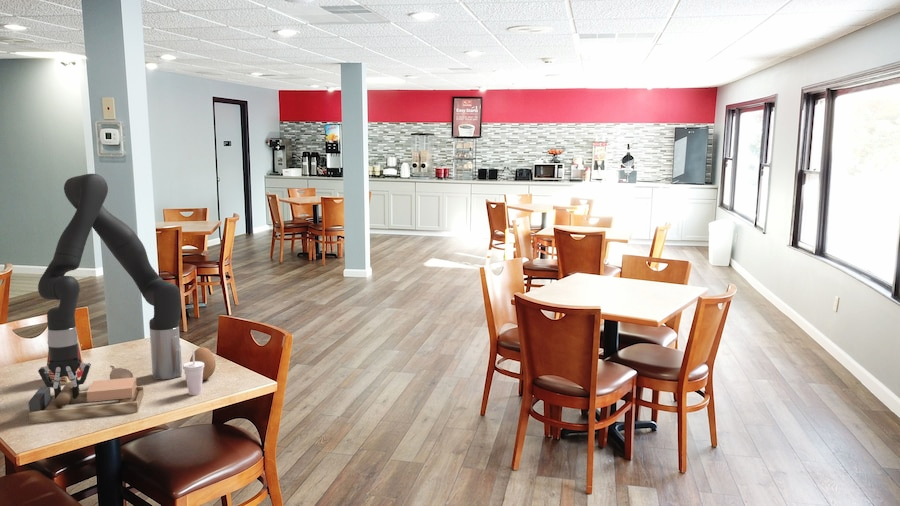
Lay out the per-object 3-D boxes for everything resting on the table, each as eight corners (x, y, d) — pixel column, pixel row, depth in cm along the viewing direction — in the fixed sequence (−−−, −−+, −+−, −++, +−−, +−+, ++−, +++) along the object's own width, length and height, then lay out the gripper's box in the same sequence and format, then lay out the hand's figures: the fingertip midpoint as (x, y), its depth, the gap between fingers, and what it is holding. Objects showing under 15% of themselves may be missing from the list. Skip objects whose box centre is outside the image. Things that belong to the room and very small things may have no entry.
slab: (136, 386, 206) (136, 377, 206) (132, 397, 197) (131, 388, 196) (93, 390, 202) (93, 381, 202) (87, 402, 193) (86, 392, 192)
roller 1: (53, 406, 200) (51, 395, 199) (67, 404, 201) (65, 392, 200) (44, 420, 190) (41, 408, 189) (58, 417, 191) (56, 405, 190)
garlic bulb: (117, 383, 219) (116, 360, 218) (136, 383, 219) (135, 360, 218) (107, 390, 213) (105, 366, 212) (126, 390, 213) (124, 367, 211)
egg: (189, 377, 226) (188, 345, 224) (215, 374, 229) (213, 343, 228) (190, 385, 218) (189, 352, 217) (217, 381, 222) (215, 349, 220)
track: (143, 394, 209) (143, 385, 209) (137, 412, 195) (136, 402, 195) (43, 404, 201) (42, 395, 200) (29, 423, 187) (28, 413, 186)
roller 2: (64, 393, 200) (64, 382, 200) (78, 392, 202) (77, 381, 201) (55, 406, 190) (55, 394, 190) (69, 405, 191) (69, 393, 191)
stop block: (51, 404, 200) (49, 386, 199) (40, 420, 189) (38, 400, 188) (42, 405, 200) (40, 386, 199) (30, 421, 188) (28, 401, 187)
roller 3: (124, 399, 206) (124, 387, 205) (137, 398, 207) (137, 386, 207) (118, 412, 196) (118, 399, 195) (132, 411, 197) (132, 398, 196)
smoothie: (185, 398, 207) (183, 355, 205) (183, 391, 212) (181, 349, 210) (207, 394, 210) (205, 352, 208) (204, 388, 215) (202, 347, 213)
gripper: (92, 337, 199) (96, 392, 201) (39, 341, 195) (43, 396, 197) (87, 344, 192) (91, 400, 194) (31, 348, 188) (36, 405, 190)
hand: (67, 398), depth 196 cm, fingers closed on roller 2, 3 cm apart
